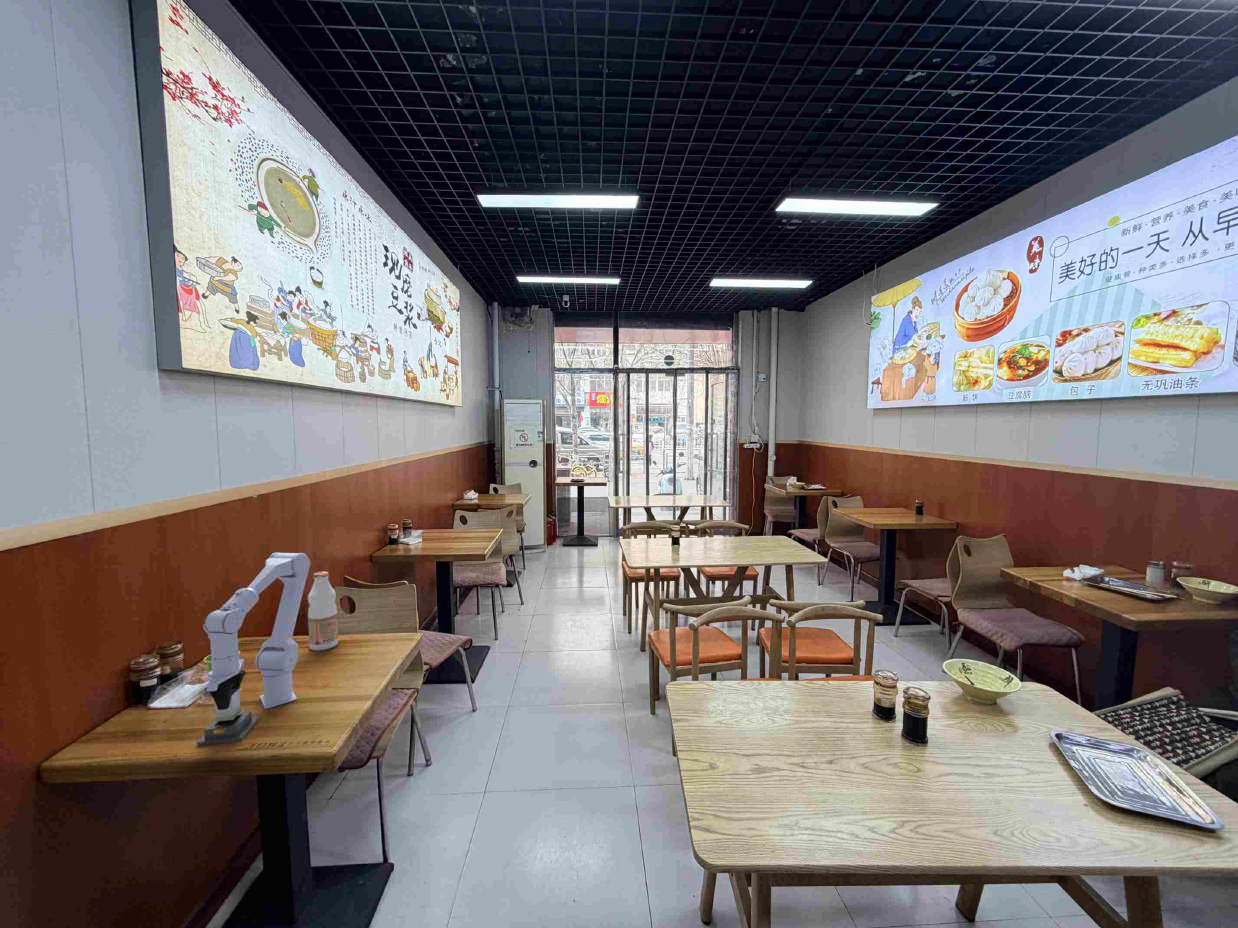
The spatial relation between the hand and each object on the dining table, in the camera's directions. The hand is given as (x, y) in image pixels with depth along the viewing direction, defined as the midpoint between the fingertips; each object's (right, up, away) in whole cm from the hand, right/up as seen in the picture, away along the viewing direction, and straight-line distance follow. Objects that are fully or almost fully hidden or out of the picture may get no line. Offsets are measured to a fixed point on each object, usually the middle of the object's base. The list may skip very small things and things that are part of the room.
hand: (227, 704), depth 137 cm
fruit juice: (-7, -5, +57) cm, 57 cm away
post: (0, -3, 0) cm, 3 cm away
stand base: (0, -8, +1) cm, 8 cm away
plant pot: (-24, -6, +29) cm, 38 cm away
